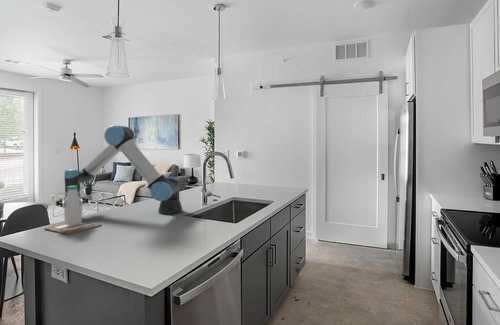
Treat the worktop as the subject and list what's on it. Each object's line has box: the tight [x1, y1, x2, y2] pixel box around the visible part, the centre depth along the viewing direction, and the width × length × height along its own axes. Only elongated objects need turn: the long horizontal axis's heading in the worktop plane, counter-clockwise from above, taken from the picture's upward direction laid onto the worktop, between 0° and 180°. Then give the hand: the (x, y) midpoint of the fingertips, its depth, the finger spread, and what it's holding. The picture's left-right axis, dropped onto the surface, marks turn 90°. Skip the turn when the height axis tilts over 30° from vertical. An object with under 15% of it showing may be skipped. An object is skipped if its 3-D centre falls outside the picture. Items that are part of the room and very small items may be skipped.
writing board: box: [44, 220, 102, 236], centre depth 155 cm, size 20×18×1 cm
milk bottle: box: [63, 186, 83, 225], centre depth 155 cm, size 8×8×20 cm
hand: (72, 204), depth 150 cm, fingers closed on milk bottle, 7 cm apart
